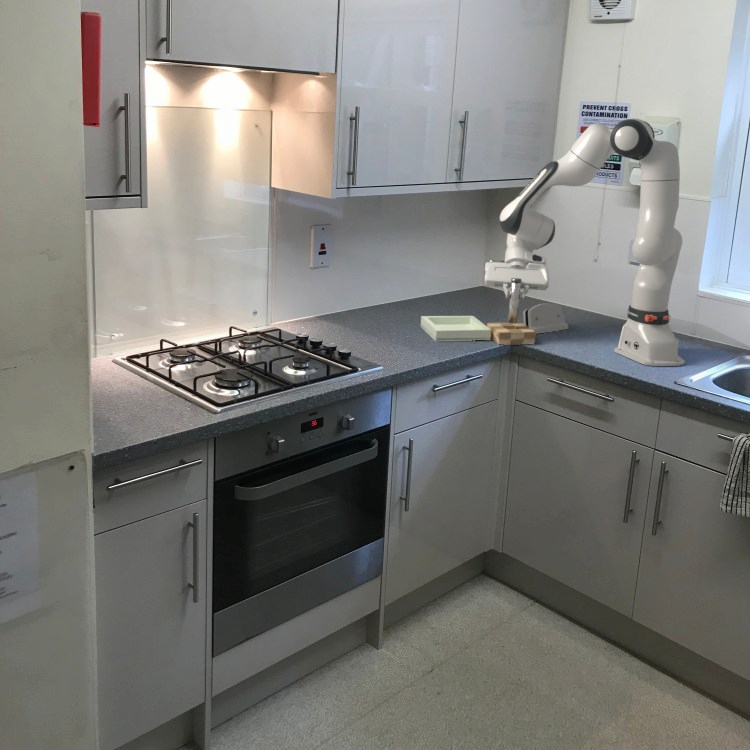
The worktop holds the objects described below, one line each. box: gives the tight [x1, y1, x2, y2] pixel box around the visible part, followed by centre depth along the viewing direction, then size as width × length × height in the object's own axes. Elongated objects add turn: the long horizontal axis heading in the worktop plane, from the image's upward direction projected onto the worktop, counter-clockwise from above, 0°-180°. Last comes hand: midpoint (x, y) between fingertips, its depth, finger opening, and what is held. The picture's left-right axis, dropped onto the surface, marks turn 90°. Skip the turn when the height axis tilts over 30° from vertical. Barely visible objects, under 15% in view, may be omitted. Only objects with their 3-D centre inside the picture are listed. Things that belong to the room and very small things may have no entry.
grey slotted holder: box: [522, 302, 569, 334], centre depth 300 cm, size 17×5×10 cm, turn 126°
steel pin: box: [507, 278, 521, 323], centre depth 283 cm, size 3×3×14 cm
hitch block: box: [486, 321, 537, 346], centre depth 286 cm, size 12×12×4 cm
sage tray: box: [420, 315, 491, 342], centre depth 290 cm, size 18×18×4 cm
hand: (514, 298), depth 282 cm, fingers closed on steel pin, 3 cm apart
